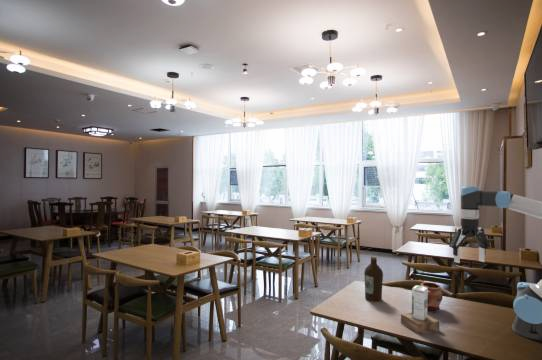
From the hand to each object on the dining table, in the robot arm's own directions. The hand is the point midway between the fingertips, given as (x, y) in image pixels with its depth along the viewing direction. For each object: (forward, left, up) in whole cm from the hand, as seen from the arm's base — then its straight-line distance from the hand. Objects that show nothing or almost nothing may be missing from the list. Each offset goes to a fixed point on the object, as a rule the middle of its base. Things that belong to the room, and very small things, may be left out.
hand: (469, 262), depth 156 cm
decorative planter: (+5, -22, -32) cm, 39 cm away
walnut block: (+23, -4, -32) cm, 40 cm away
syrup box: (+24, -4, -27) cm, 36 cm away
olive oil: (+28, -42, -32) cm, 60 cm away
